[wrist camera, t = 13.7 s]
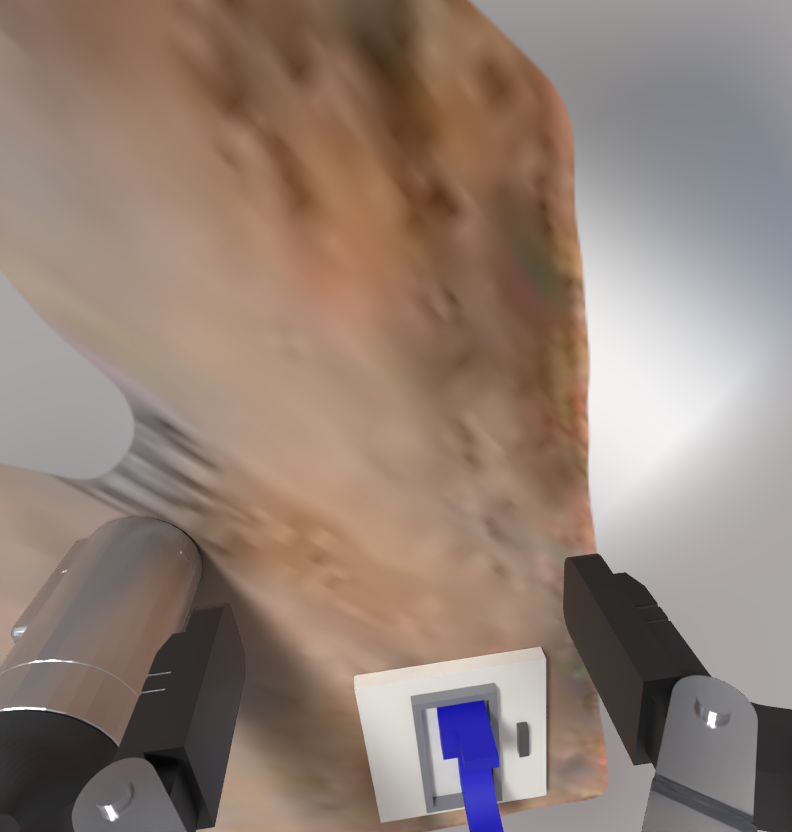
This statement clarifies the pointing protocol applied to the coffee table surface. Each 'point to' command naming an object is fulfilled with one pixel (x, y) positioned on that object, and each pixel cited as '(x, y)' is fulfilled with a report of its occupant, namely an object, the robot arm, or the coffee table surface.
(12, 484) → the coffee table surface
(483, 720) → the cable clip
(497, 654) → the board
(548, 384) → the coffee table surface
